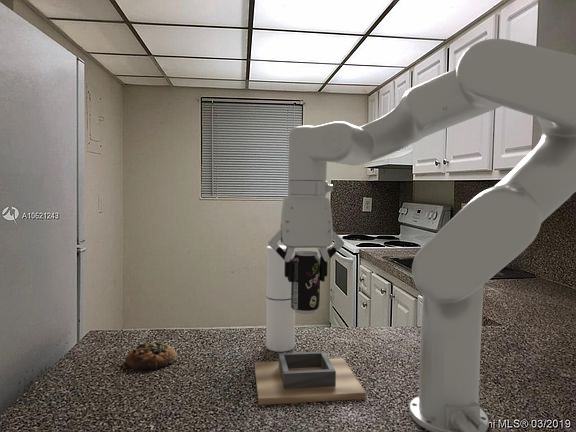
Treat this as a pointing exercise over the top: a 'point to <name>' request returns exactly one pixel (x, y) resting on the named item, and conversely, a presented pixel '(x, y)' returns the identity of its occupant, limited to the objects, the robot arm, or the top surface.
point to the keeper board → (305, 379)
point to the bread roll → (150, 356)
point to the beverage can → (305, 282)
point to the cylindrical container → (278, 304)
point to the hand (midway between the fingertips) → (305, 279)
